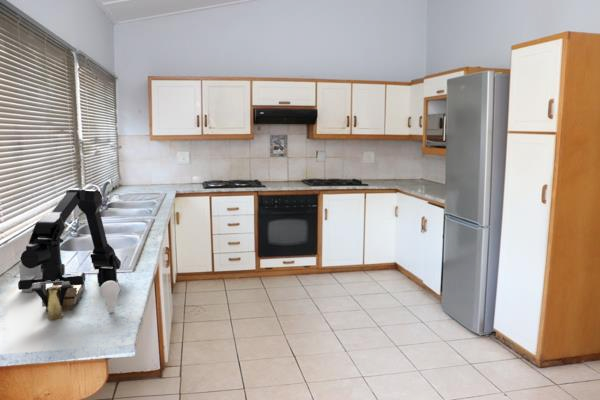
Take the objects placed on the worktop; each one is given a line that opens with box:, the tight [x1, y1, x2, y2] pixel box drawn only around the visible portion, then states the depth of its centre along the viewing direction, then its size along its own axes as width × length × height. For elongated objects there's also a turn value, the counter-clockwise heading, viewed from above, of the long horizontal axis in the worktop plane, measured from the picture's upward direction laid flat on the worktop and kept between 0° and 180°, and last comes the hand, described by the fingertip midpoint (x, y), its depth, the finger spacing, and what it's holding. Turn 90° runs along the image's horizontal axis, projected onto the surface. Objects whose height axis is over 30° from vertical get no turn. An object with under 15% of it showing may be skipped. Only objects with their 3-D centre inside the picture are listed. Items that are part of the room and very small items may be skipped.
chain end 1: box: [41, 285, 82, 313], centre depth 174 cm, size 10×16×6 cm, turn 15°
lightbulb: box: [99, 281, 121, 314], centre depth 165 cm, size 6×6×11 cm
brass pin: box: [46, 286, 63, 321], centre depth 161 cm, size 4×4×10 cm
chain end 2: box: [52, 282, 86, 305], centre depth 180 cm, size 10×16×4 cm, turn 15°
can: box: [18, 259, 42, 293], centre depth 187 cm, size 8×8×12 cm
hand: (54, 306), depth 161 cm, fingers closed on brass pin, 4 cm apart
